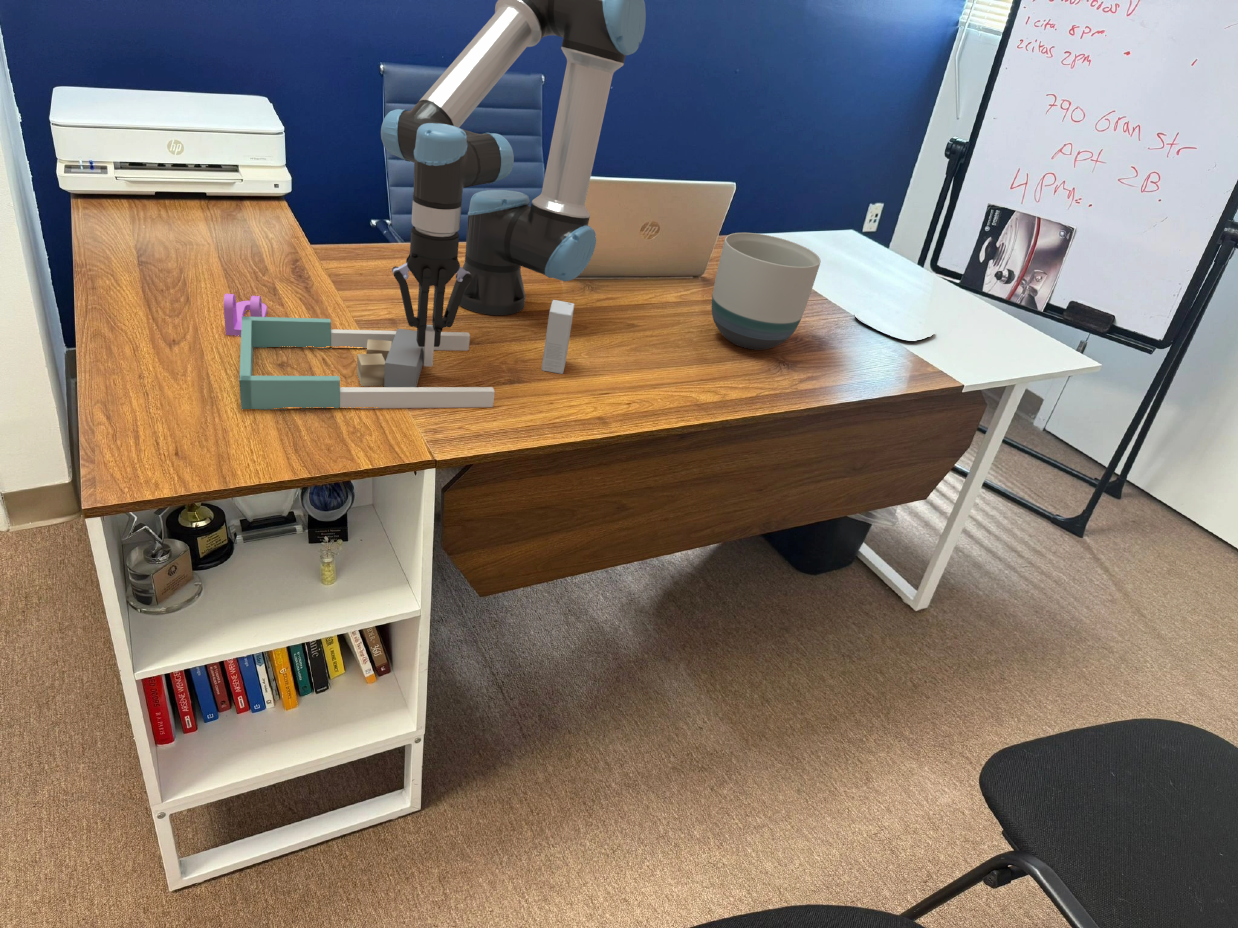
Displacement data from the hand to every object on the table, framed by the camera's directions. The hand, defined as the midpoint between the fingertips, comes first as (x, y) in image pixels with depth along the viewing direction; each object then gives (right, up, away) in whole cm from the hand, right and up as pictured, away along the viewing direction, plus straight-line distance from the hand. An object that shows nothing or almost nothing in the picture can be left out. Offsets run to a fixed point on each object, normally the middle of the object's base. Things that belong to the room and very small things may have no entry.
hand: (426, 362), depth 146 cm
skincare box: (+21, +1, +14) cm, 25 cm away
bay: (-21, -3, -7) cm, 22 cm away
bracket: (-34, +8, +7) cm, 36 cm away
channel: (-3, -2, +1) cm, 4 cm away
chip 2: (-9, -3, -4) cm, 10 cm away
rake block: (-4, -2, +1) cm, 4 cm away
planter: (+61, +9, +41) cm, 74 cm away
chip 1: (-9, 0, +1) cm, 9 cm away
